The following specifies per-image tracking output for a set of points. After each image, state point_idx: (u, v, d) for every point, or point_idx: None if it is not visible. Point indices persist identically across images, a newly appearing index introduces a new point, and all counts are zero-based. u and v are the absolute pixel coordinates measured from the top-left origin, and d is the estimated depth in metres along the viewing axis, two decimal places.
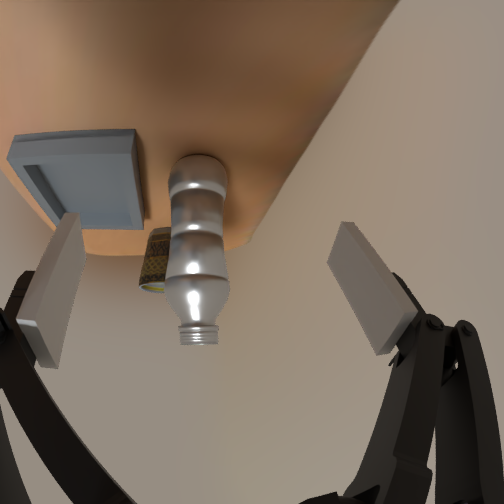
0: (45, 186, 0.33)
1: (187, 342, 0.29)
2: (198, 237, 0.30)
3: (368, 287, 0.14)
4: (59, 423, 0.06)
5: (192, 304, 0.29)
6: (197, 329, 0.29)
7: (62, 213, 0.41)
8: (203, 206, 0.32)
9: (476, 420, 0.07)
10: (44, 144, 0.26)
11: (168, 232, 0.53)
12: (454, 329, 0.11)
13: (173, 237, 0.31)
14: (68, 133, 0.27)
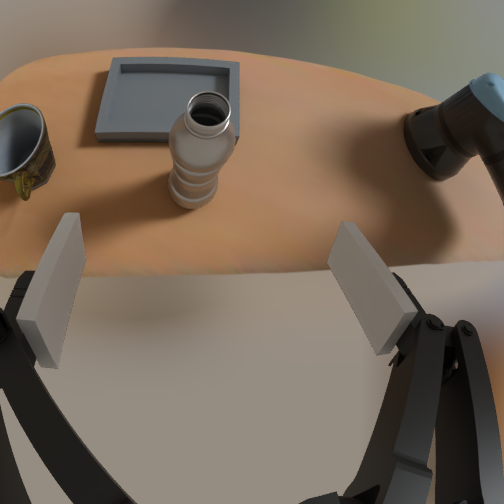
0: (180, 70, 0.43)
1: (225, 99, 0.24)
2: None
3: (368, 287, 0.14)
4: (59, 423, 0.06)
5: (229, 125, 0.28)
6: None
7: (129, 69, 0.41)
8: (216, 175, 0.37)
9: (476, 420, 0.07)
10: None
11: (54, 164, 0.37)
12: (454, 329, 0.11)
13: None
14: None
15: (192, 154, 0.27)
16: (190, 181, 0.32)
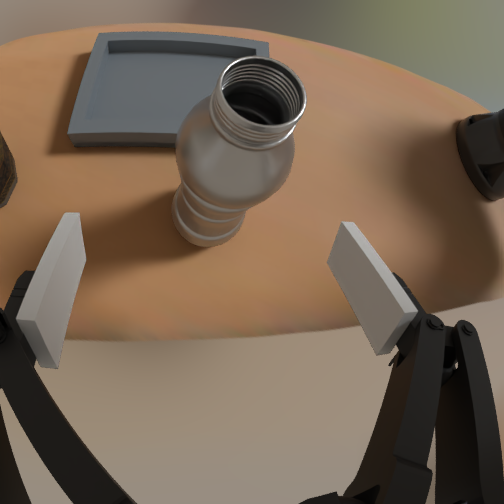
0: (189, 49, 0.31)
1: None
2: None
3: (368, 287, 0.14)
4: (59, 423, 0.06)
5: None
6: None
7: (120, 47, 0.29)
8: None
9: (476, 420, 0.07)
10: None
11: (14, 179, 0.25)
12: (454, 329, 0.11)
13: None
14: None
15: (222, 178, 0.14)
16: (210, 216, 0.20)
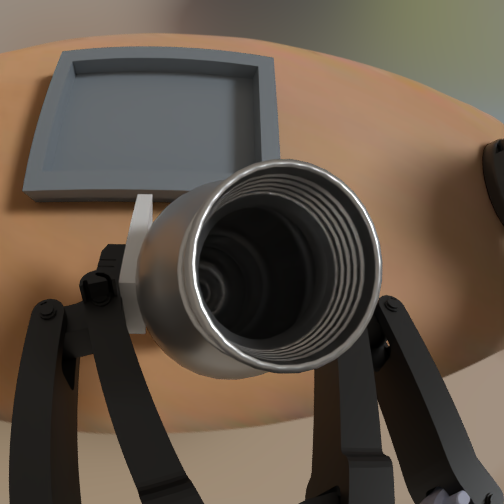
0: (174, 68, 0.25)
1: None
2: None
3: None
4: (142, 393, 0.07)
5: None
6: None
7: (88, 68, 0.23)
8: (250, 296, 0.19)
9: (428, 406, 0.08)
10: None
11: None
12: (376, 308, 0.12)
13: (236, 236, 0.16)
14: None
15: (214, 364, 0.08)
16: None
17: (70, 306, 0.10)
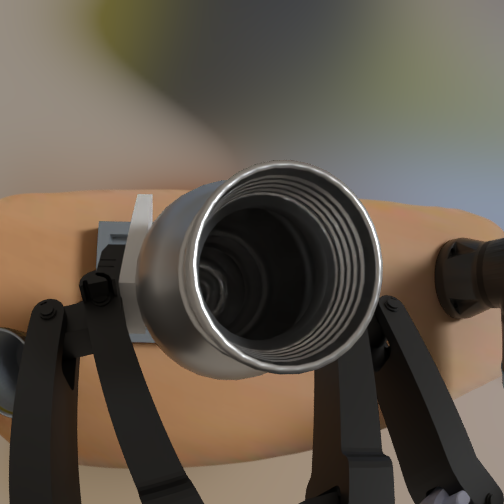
0: None
1: None
2: None
3: None
4: (142, 393, 0.07)
5: None
6: None
7: (122, 236, 0.37)
8: (249, 297, 0.19)
9: (428, 406, 0.08)
10: None
11: None
12: (376, 308, 0.12)
13: (236, 237, 0.16)
14: None
15: (213, 364, 0.08)
16: None
17: (70, 306, 0.10)
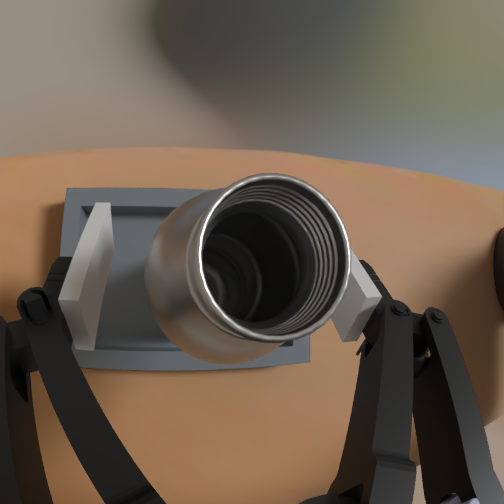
0: None
1: None
2: None
3: None
4: (93, 407, 0.07)
5: None
6: None
7: None
8: (246, 295, 0.20)
9: (457, 412, 0.08)
10: None
11: None
12: (423, 318, 0.12)
13: (233, 239, 0.17)
14: None
15: (213, 347, 0.10)
16: None
17: (15, 322, 0.08)
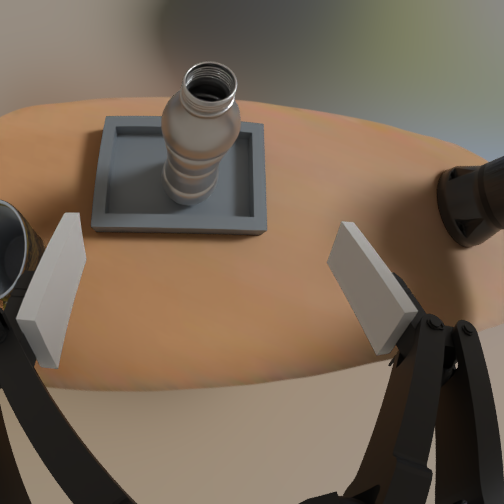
0: None
1: None
2: None
3: (368, 287, 0.14)
4: (59, 423, 0.06)
5: (234, 105, 0.23)
6: None
7: (127, 131, 0.36)
8: (217, 166, 0.32)
9: (476, 420, 0.07)
10: None
11: None
12: (454, 329, 0.11)
13: None
14: None
15: (189, 138, 0.22)
16: (186, 172, 0.27)
17: None
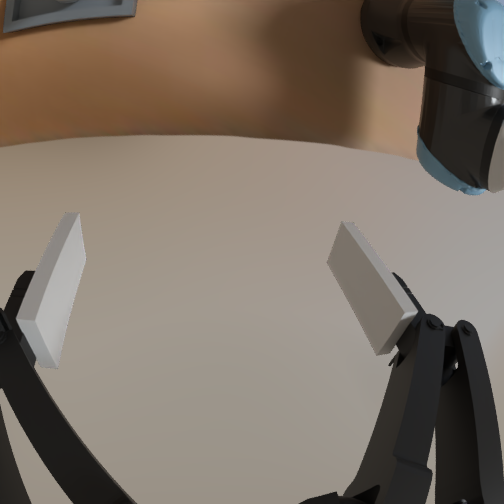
0: None
1: None
2: None
3: (368, 287, 0.14)
4: (59, 423, 0.06)
5: None
6: None
7: None
8: None
9: (476, 420, 0.07)
10: None
11: None
12: (454, 329, 0.11)
13: None
14: None
15: None
16: None
17: None
